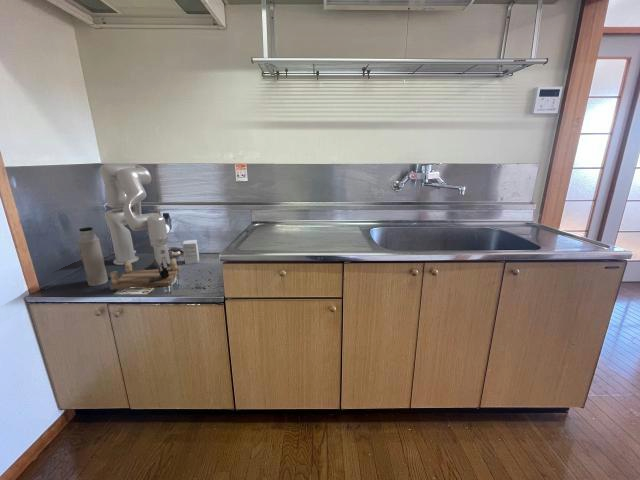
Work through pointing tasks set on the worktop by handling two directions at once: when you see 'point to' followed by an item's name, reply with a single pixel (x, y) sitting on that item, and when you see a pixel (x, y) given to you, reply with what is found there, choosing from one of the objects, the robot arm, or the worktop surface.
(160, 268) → the swing leg
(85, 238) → the thermos bottle
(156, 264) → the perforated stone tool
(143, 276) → the stool seat
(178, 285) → the worktop surface
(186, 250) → the supplement box
